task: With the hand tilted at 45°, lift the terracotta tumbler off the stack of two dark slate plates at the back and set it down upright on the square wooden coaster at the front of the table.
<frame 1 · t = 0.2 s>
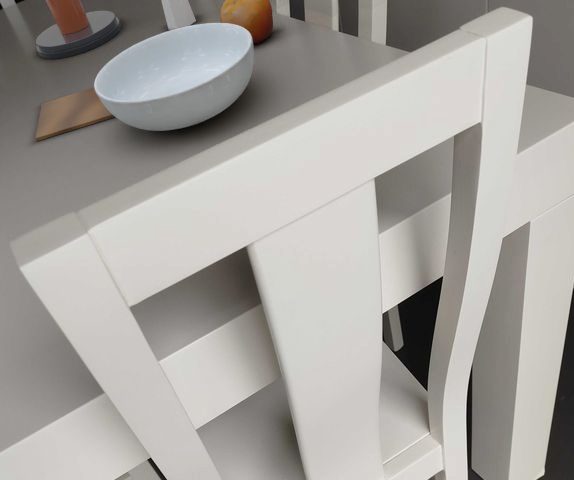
salt shaker: (182, 25, 104), on the table
tumbler: (75, 27, 108), point 2 cm above the table, touching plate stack
square wooden coaster: (79, 111, 87), on the table
fruit: (252, 40, 92), on the table
serving bowl: (190, 111, 80), on the table
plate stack: (80, 39, 110), on the table
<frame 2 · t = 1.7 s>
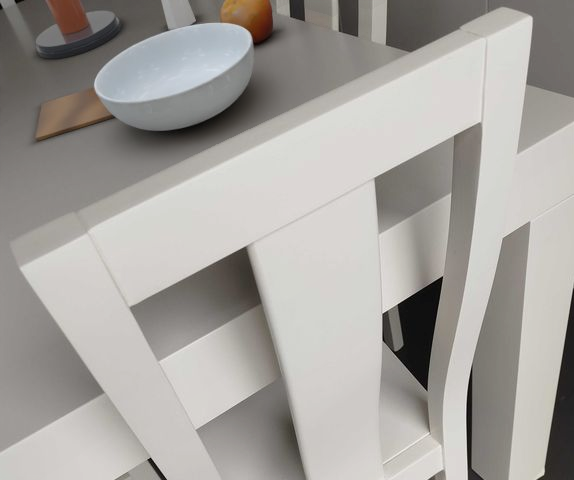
nothing on the table moved.
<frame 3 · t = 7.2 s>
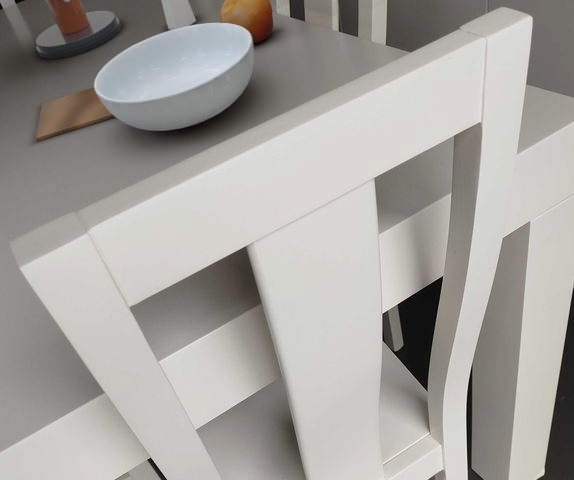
tumbler: (75, 27, 108), point 2 cm above the table, touching gripper, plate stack
everything else where it was.
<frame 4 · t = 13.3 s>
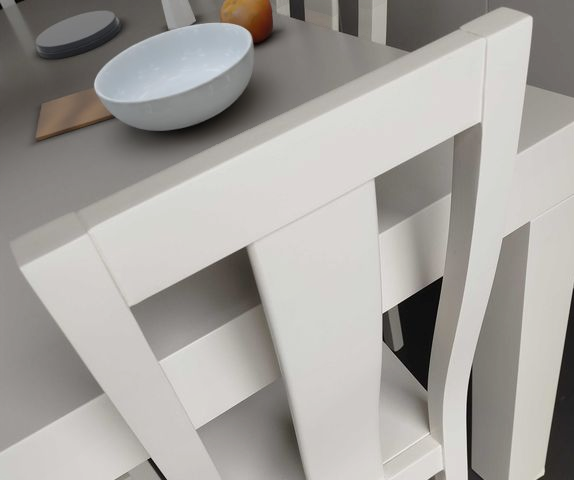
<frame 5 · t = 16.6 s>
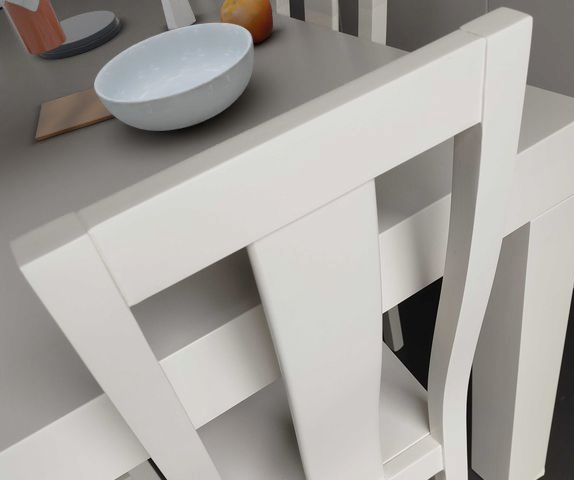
hand: (30, 0, 76), 15 cm above the table, tool tilted 45°, fingers closed on tumbler, 5 cm apart
tumbler: (47, 45, 80), point 9 cm above the table, touching gripper
everything else where it was.
when the fingers open (6 cm above the table, at t = 19.6 s): tumbler stays where it is, resting on square wooden coaster.
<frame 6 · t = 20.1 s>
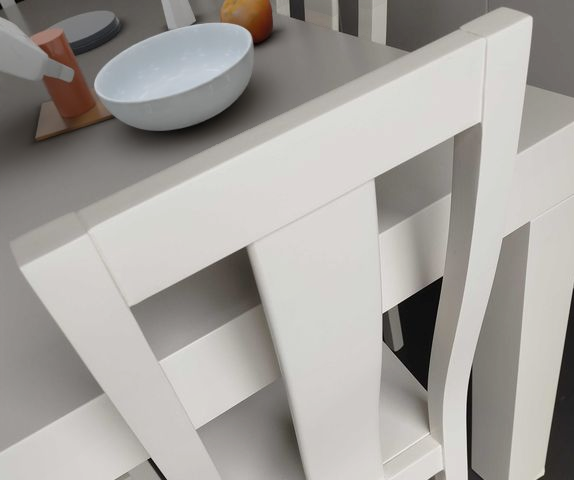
hand: (62, 67, 83), 6 cm above the table, tool tilted 45°, fingers open, 8 cm apart
tumbler: (77, 108, 87), resting on square wooden coaster
everything else where it was.
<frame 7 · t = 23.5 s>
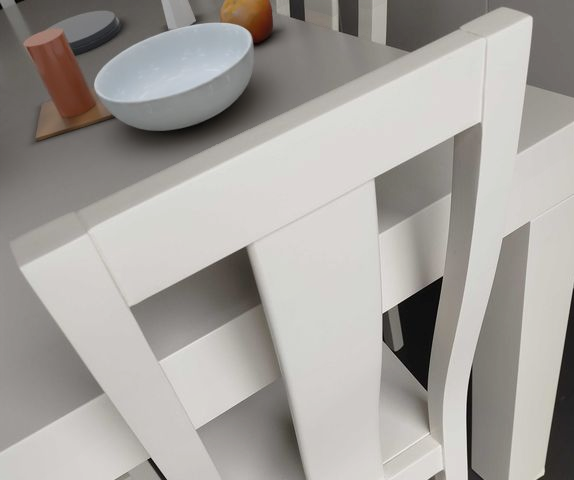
nothing on the table moved.
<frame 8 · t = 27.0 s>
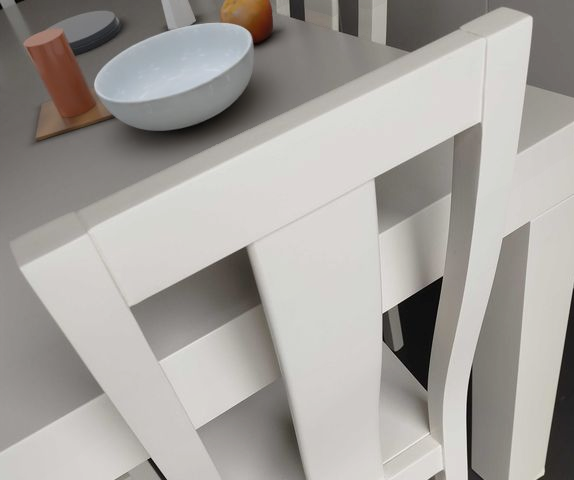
nothing on the table moved.
at the end: tumbler inside the target area on the square wooden coaster (0.1 cm from its centre), point 0.5 cm above the square wooden coaster's base; tumbler tilted 0°; tumbler touching square wooden coaster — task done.
